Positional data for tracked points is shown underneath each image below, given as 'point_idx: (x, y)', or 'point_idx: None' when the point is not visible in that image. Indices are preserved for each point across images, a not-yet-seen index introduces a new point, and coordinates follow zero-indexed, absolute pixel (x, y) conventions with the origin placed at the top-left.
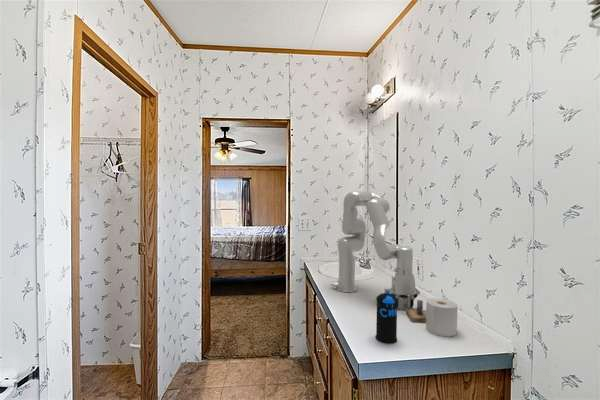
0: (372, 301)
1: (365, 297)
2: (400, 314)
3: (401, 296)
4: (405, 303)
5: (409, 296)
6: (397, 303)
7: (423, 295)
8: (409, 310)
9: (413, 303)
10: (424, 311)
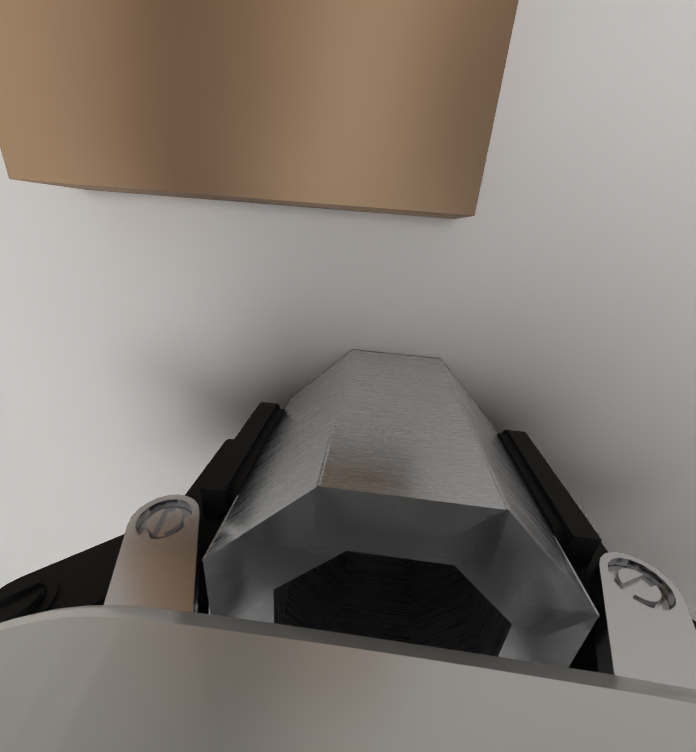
0: None
1: None
2: (579, 171)
3: None
4: (402, 414)
5: None
6: (537, 473)
7: None
8: (408, 141)
9: (211, 460)
10: (62, 82)
